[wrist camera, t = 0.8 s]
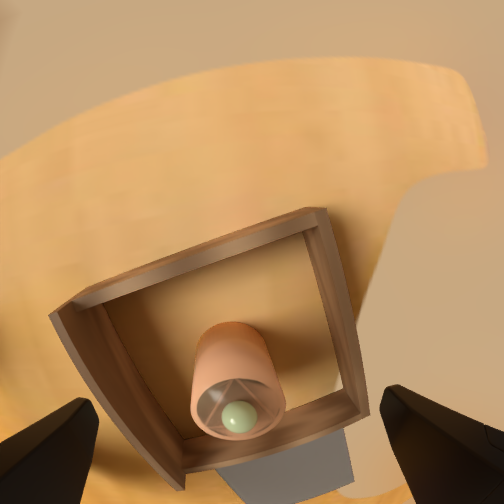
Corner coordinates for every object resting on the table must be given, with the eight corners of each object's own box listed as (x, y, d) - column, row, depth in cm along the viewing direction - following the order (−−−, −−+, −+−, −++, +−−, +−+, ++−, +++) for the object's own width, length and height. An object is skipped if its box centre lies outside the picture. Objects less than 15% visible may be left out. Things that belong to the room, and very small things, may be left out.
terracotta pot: (212, 388, 22) (214, 465, 13) (185, 335, 21) (170, 406, 12) (274, 368, 22) (301, 441, 14) (253, 311, 21) (275, 375, 13)
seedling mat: (255, 511, 26) (256, 513, 26) (213, 464, 23) (214, 468, 23) (353, 479, 27) (354, 481, 26) (341, 423, 24) (342, 426, 24)
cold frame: (180, 445, 22) (176, 491, 17) (86, 287, 19) (48, 315, 13) (352, 390, 24) (380, 428, 18) (305, 207, 20) (340, 208, 14)
